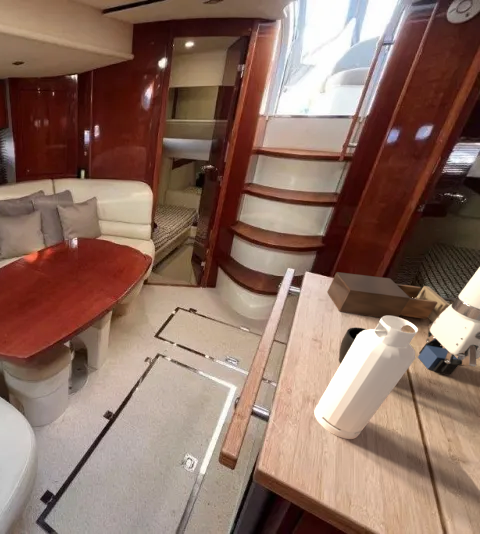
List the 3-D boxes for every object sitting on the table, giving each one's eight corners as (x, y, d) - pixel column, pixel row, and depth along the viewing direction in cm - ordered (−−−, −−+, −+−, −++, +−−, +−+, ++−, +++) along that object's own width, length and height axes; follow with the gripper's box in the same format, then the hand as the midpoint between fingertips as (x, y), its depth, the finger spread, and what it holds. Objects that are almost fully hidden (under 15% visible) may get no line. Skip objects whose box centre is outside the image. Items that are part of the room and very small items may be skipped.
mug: (348, 385, 75) (365, 358, 71) (327, 351, 85) (341, 325, 81) (387, 392, 73) (408, 364, 69) (361, 356, 83) (378, 329, 79)
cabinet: (378, 299, 105) (390, 278, 101) (396, 320, 96) (410, 298, 92) (327, 292, 110) (336, 271, 105) (339, 311, 100) (350, 290, 96)
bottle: (367, 443, 63) (445, 343, 49) (322, 433, 65) (385, 335, 51) (348, 409, 70) (412, 313, 56) (308, 401, 72) (360, 307, 58)
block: (438, 360, 81) (447, 348, 79) (449, 373, 78) (459, 361, 76) (417, 357, 83) (426, 345, 80) (427, 369, 79) (437, 357, 77)
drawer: (443, 306, 100) (455, 289, 96) (466, 327, 91) (480, 309, 88) (366, 296, 106) (375, 279, 102) (381, 314, 97) (392, 297, 94)
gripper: (532, 337, 63) (477, 394, 72) (470, 292, 77) (431, 344, 86) (484, 330, 65) (436, 386, 74) (433, 287, 79) (398, 339, 88)
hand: (434, 363), depth 80 cm, fingers open, 5 cm apart
